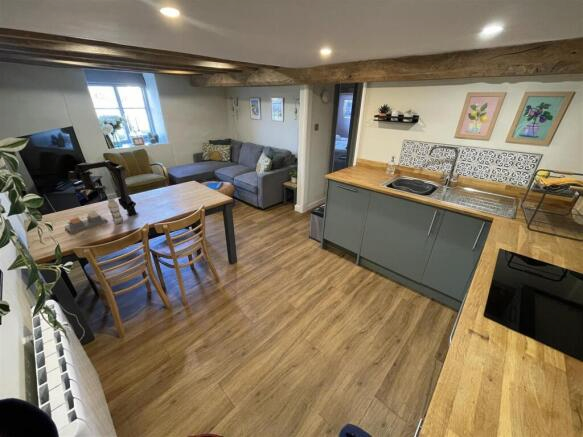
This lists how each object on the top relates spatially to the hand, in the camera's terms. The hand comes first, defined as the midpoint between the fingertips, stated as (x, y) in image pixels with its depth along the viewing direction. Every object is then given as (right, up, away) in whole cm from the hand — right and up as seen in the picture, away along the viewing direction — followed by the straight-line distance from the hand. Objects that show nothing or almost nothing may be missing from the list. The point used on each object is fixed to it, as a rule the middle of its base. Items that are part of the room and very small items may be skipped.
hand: (94, 199), depth 183 cm
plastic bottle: (+23, -18, -5) cm, 30 cm away
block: (+2, -20, -9) cm, 22 cm away
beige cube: (+5, -13, -7) cm, 16 cm away
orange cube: (-1, -18, -15) cm, 23 cm away
